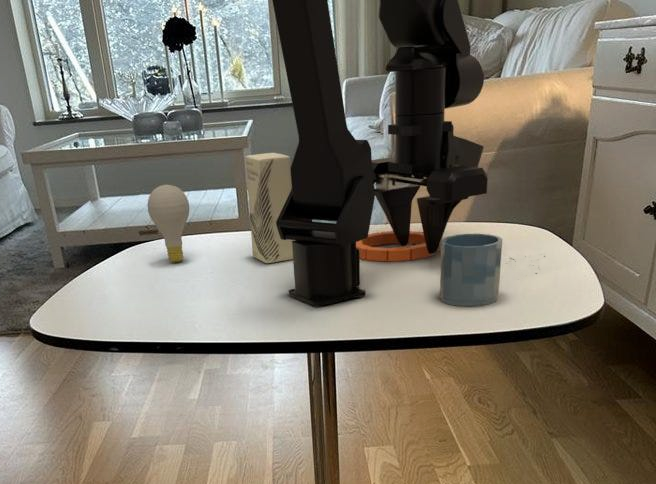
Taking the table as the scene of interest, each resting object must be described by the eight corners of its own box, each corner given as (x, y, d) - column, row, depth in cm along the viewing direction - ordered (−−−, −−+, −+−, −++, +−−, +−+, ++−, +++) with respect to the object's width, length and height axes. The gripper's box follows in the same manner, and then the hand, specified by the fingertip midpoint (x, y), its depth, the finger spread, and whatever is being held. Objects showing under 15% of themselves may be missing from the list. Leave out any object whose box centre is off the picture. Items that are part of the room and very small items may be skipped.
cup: (465, 310, 76) (468, 249, 73) (428, 297, 80) (429, 240, 77) (510, 298, 78) (515, 239, 75) (471, 286, 83) (474, 231, 80)
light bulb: (148, 264, 102) (135, 187, 97) (178, 256, 105) (167, 180, 100) (174, 269, 99) (162, 189, 94) (204, 260, 102) (194, 182, 97)
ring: (384, 266, 93) (384, 254, 92) (335, 251, 102) (335, 240, 101) (456, 250, 97) (456, 239, 97) (403, 237, 106) (403, 227, 106)
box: (252, 257, 102) (242, 155, 95) (281, 252, 103) (274, 151, 97) (267, 265, 97) (258, 158, 91) (297, 259, 99) (291, 154, 92)
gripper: (529, 108, 83) (517, 250, 91) (425, 106, 98) (422, 228, 106) (450, 118, 79) (445, 266, 87) (354, 114, 93) (357, 241, 101)
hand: (417, 249), depth 95 cm, fingers open, 6 cm apart
